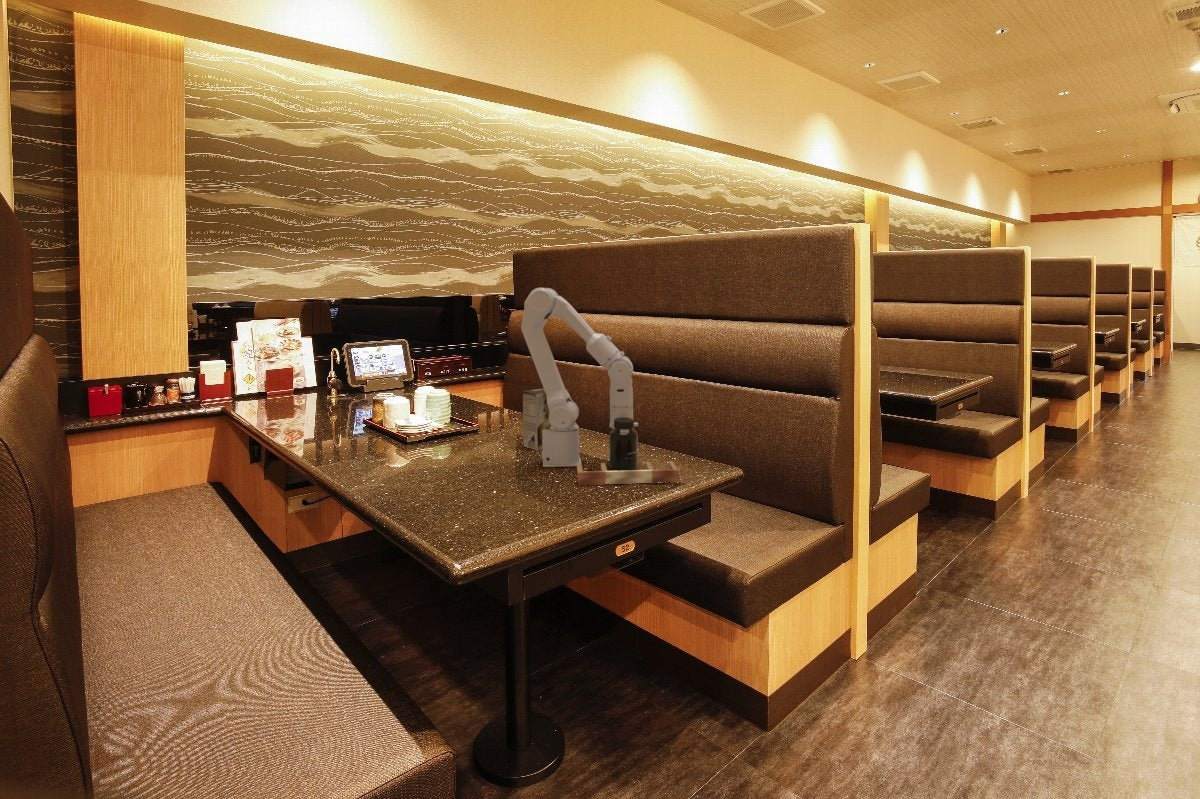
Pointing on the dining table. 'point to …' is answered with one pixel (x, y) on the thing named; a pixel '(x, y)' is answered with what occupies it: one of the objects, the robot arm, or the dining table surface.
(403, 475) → the dining table surface
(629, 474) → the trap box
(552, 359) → the robot arm
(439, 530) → the dining table surface
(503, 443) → the dining table surface
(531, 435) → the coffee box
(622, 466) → the supplement bottle
